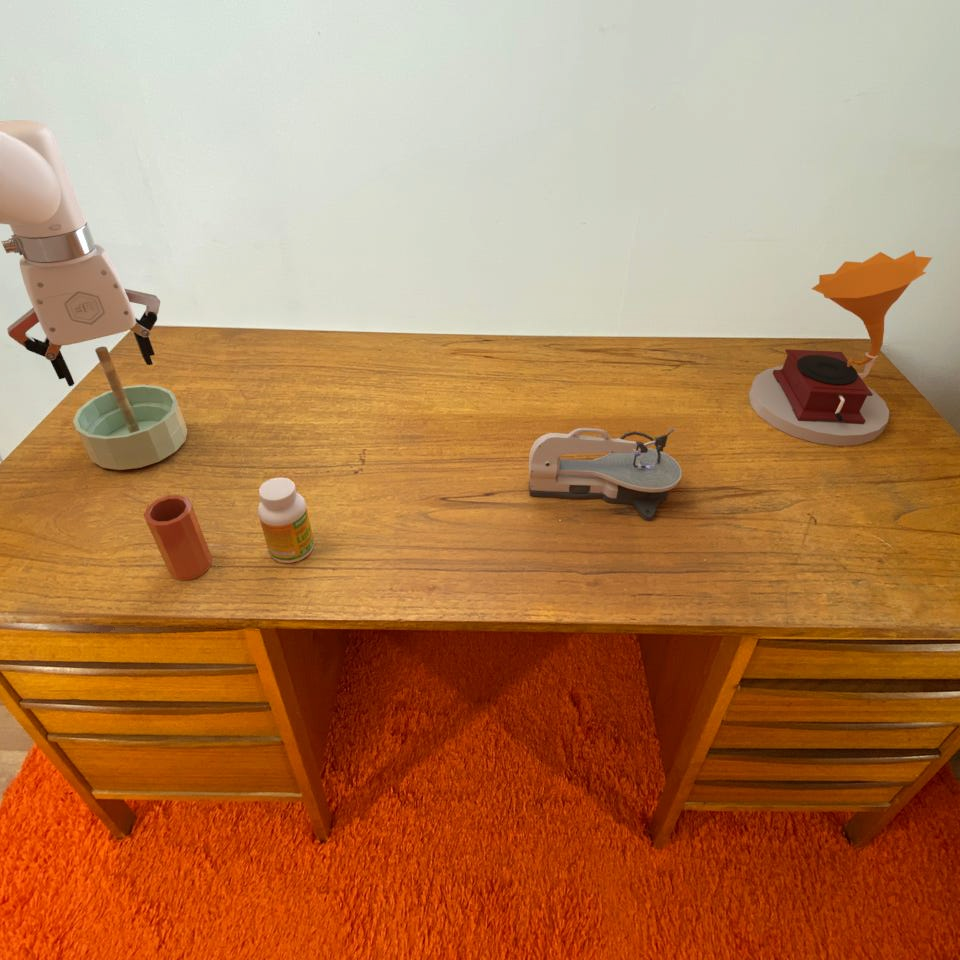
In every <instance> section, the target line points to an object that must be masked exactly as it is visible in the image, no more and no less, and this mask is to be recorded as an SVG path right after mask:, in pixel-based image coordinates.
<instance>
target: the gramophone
mask: <svg viewBox="0 0 960 960" xmlns="http://www.w3.org/2000/svg"><path fill="white" fill-rule="evenodd" d="M932 259H933V257H928V256H918V255H916V252H915V250H911V251H909V252H907V253H905V254H903V255H901V256H899V257H896V258H895V259H894V258H893V257H891V256H889V255H887V254H885V253H884V252H882V251H879V252H878V253H876V254H875V255H873V256H871V257H870V258H868V259H866V260H864V261H862V262H861V261H847V260H845V261H844V262H843V263H842V264H841V265H840V266H839V268H838V269H837V270H836V271H835V272H834V273H826V274H825V273H824V274H819V275H818V276H819V277H818V278H819V279H818V281H819V283H818V284H816V285H815V286H813V287H812V288H811V290H813V291H815V292H817V293H820V294H822V295H823V297H824V298H825V299H829V300H831V301H832V302H833V303H834V304H837V305H838V306H839V307H841V308H842V309H844V310H846V311H848V312H849V313H852V314H853V315H855V316H856V317H857V318H859V319H860V320H861V321H862V322H863V325H864V326H865V329H866V331H867V334H868V337H869V340H870V344H871V347H870V349H869V351H866V352H865V357H864V358H863V359H861V360H855V361H853V359H854V358H853V356H849V358H848V359H847V357H846V356H845V354H844V353H843V351H834V350H833V351H831V350H812V349H811V350H810V349H809V350H808V349H791V348H790V349H789V348H785V350H784V351H785V353H786V357H785V360H784V363H783V365H778V366H774V367H770V368H766V369H765V370H763V371H762V372H760V373H757V374H756V375H755V378H754V380H753V381H752V383H751V386H750V389H749V392H748V398H749V405H750V406H751V407H752V409H753V410H754V412H755V413H756V414H757V416H758V417H760V418H761V419H762V420H764V421H765V422H766V423H768V424H769V425H770V426H771V427H773V428H775V429H776V430H778V431H781V432H783V433H785V434H787V435H789V436H791V437H793V438H797V439H801V440H804V441H807V442H811V443H813V444H820V445H826V446H833V447H847V446H849V447H851V446H860V445H863V444H867V443H869V442H873V441H874V440H876V439H877V438H878V437H879V436H880V435H882V433H883V432H884V430H885V429H886V426H887V424H888V423H889V419H890V418H889V417H890V410H889V408H888V406H887V403H886V401H885V400H884V399H883V398H882V397H881V395H879V394H878V393H877V392H876V391H875V390H874V389H872V388H870V387H869V386H867V384H866V383H865V381H864V380H863V379H865V378H866V377H867V376H868V375H869V373H870V372H871V369H872V367H873V365H874V362H875V361H876V359H878V355H879V353H880V352H881V349H882V347H883V343H884V334H885V317H886V315H887V313H888V311H889V310H890V309H891V307H892V306H893V304H895V303H896V302H897V301H898V300H899V299H900V297H901V296H902V295H903V294H904V292H905V291H906V290H907V288H908V287H909V286H910V284H912V282H913V281H915V280H917V279H919V278H920V277H922V276H923V275H925V274H927V272H926V271H924V270H925V269H926V268H927V266H928V265H929V264H930V262H931V261H932ZM852 364H854V365H857V366H861V365H864V364H865V365H864V367H863V371H862V372H861V373H858V371H857V369H856V368H854V366H853V365H852Z"/></svg>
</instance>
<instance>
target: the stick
mask: <svg viewBox="0 0 960 960" xmlns="http://www.w3.org/2000/svg"><path fill="white" fill-rule="evenodd" d="M94 352H95V353H96V357H97V358H98V361H99V363H100V365H101V368H102V370H103V373H104V375H105V377H106V381H107V382H108V385H109V387H110V389H111V390H112V392H113V394H114V397H115V399H116V401H117V404H118V406H119V408H120V411H121V413H122V416H123V418H124V420H125V423H126V425H127V427H128V430H129V432H130V433H133V432H136V431H139V430H140V428H139V426H138V423H137V421H136V418H135V416H134V413H133V411H132V408H131V406H130V404H129V401H128V399H127V396H126V394H125V391H124V389H123V387H124V386H123V383H122V381H121V379H120V377H119V374H118V372H117V369H116V366H115V364H114V362H113V360H112V357H111V354H110V352H109V349H108V347H106V346H99V347H96V348H95V349H94Z"/></svg>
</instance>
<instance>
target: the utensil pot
mask: <svg viewBox="0 0 960 960" xmlns="http://www.w3.org/2000/svg"><path fill="white" fill-rule="evenodd" d="M143 517H144V519H145V522H146V525H147V526H148V529H149V531H150V533H151V536H152V537H153V540H154V542H155V545H156V546H157V548H158V551H159V553H160V555H161V557H162V560H163V562H164V564H165V566H166V569H167V571H168V573H169V574H170V576H171V577H172V578H173V579H175V580H177V581H190V580H194V579H197V578H199V577H201V576H203V575H204V574H205V573H206V572H208V571H209V569H210V568H211V566H212V563H213V560H212V559H213V558H212V554H211V552H210V549H209V546H208V543H207V541H206V538H205V535H204V533H203V530H202V528H201V525H200V522H199V520H198V517H197V514H196V512H195V509H194V507H193V504H192V502H191V500H190V498H189V497H185V496H184V495H180V494H172V495H165V496H163V497H160V498H157V499H155V500H154V501H153V502H151V503H150V504H149V505H147V507H146V509H145V511H144V513H143Z"/></svg>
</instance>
